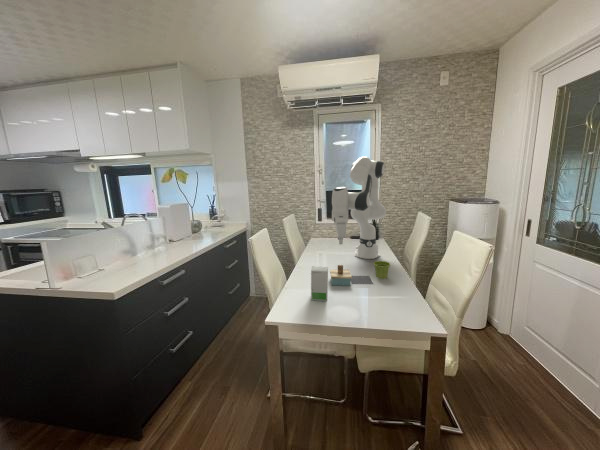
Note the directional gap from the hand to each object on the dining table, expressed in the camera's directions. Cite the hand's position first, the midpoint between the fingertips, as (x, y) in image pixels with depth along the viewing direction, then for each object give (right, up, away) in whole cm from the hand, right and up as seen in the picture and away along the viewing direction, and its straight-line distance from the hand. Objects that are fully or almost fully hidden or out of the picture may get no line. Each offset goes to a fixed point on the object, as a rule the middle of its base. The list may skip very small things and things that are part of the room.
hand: (340, 241), depth 139 cm
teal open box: (+1, -24, +4) cm, 24 cm away
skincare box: (-12, -28, -12) cm, 33 cm away
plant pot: (+26, -22, +10) cm, 36 cm away
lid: (+1, -19, +3) cm, 19 cm away
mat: (+13, -23, +6) cm, 27 cm away
